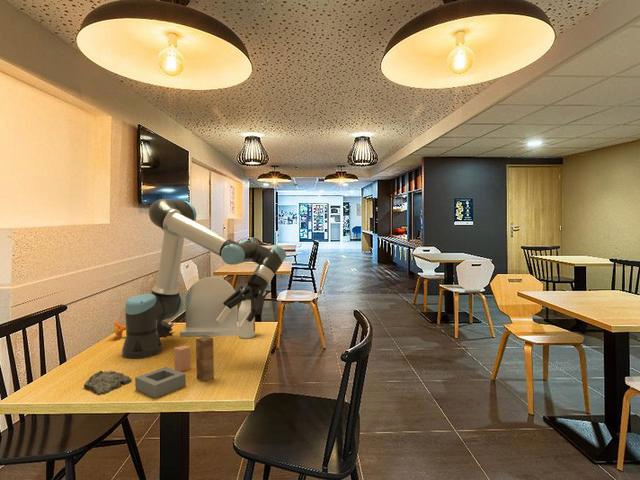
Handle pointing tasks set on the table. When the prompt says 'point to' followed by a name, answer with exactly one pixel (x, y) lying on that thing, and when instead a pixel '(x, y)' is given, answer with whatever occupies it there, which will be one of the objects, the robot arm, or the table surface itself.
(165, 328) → the dragon figurine
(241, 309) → the milk bottle
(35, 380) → the table surface
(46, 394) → the table surface
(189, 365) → the short peg
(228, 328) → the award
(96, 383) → the stone slab
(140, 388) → the collar
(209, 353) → the long peg
